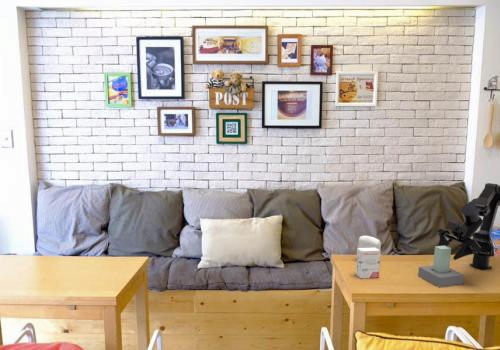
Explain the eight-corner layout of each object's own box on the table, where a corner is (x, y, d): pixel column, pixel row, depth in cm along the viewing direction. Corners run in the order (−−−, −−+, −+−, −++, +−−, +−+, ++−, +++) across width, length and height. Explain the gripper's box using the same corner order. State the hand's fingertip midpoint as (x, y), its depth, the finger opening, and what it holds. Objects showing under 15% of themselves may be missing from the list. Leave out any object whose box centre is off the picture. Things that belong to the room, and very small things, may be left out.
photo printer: (380, 264, 186) (382, 238, 184) (376, 266, 183) (378, 240, 181) (360, 258, 193) (362, 233, 191) (355, 260, 190) (357, 235, 188)
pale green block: (442, 275, 171) (444, 245, 169) (448, 278, 168) (451, 248, 166) (432, 276, 170) (435, 246, 168) (438, 279, 166) (441, 249, 164)
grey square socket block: (441, 273, 176) (441, 264, 176) (463, 284, 165) (464, 274, 164) (418, 275, 173) (418, 266, 172) (439, 287, 161) (439, 277, 161)
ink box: (374, 273, 175) (376, 246, 173) (379, 277, 170) (381, 250, 168) (355, 274, 173) (356, 247, 172) (359, 278, 169) (361, 251, 167)
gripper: (442, 209, 176) (419, 236, 174) (478, 220, 158) (452, 250, 157) (455, 226, 179) (432, 252, 178) (491, 238, 162) (467, 268, 160)
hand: (445, 255), depth 168 cm, fingers open, 9 cm apart
